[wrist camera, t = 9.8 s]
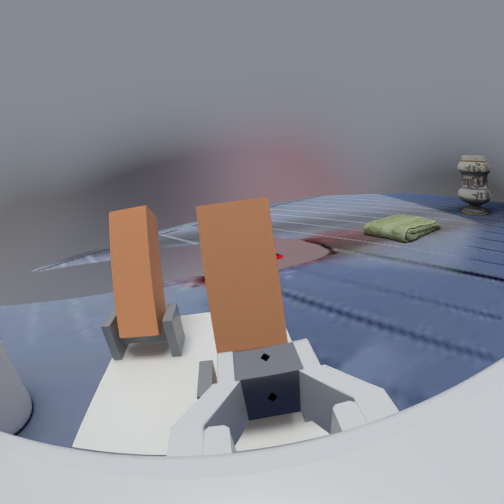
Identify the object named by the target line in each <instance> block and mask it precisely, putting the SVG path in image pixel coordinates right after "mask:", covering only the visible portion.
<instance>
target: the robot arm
mask: <svg viewBox="0 0 504 504" xmlns="http://www.w3.org/2000/svg"><path fill="white" fill-rule="evenodd" d="M300 411H301V413H302V414H303V415H305V416H306V417H307V418H309V419H310V420H311V421H313V422H314V423H316V424H317V425H318V426H320V427H321V428H322V429H324V430H325V431H327V432H328V433H329V434H330V435H326V436H322V437H318V438H314V439H310V440H306V441H301V442H297V443H292V444H287V445H282V446H276V447H270V448H264V449H258V450H251V451H243V452H237V451H236V448H235V445H236V444H237V442H238V440H239V439H240V437H241V435H242V433H243V432H244V430H245V428H246V427H247V425H248V423H249V421H250V420H256V419H261V418H267V417H272V416H278V415H284V414H289V413H295V412H300ZM0 504H504V357H503V358H502V359H500V360H499V361H497V362H495V363H494V364H492V365H491V366H489V367H487V368H486V369H484V370H483V371H481V372H479V373H477V374H476V375H474V376H472V377H470V378H469V379H467V380H465V381H463V382H461V383H460V384H458V385H456V386H454V387H452V388H450V389H448V390H446V391H444V392H442V393H440V394H438V395H436V396H434V397H432V398H430V399H428V400H425V401H423V402H421V403H419V404H416V405H414V406H412V407H409V408H407V409H405V410H402V411H400V412H399V411H398V409H397V408H396V406H395V405H394V403H393V402H392V401H391V399H390V398H389V396H388V395H387V393H386V392H385V390H384V389H382V388H380V387H377V386H375V385H372V384H370V383H367V382H365V381H362V380H360V379H358V378H355V377H353V376H351V375H348V374H346V373H343V372H341V371H339V370H337V369H334V368H332V367H330V366H327V365H321V364H320V362H319V360H318V358H317V356H316V355H315V353H314V351H313V349H312V347H311V345H310V343H309V341H308V339H306V338H305V339H301V340H297V341H292V342H289V343H284V344H279V345H273V346H268V347H260V348H253V349H245V350H238V351H233V352H232V351H229V352H222V353H218V354H217V384H212V385H211V386H210V387H209V389H208V390H207V391H206V392H205V393H204V394H203V395H202V396H201V397H200V398H199V399H198V400H197V401H196V402H195V403H194V404H193V405H192V406H191V407H190V408H189V409H188V410H187V411H186V412H185V414H184V415H183V416H182V417H181V418H180V419H179V420H178V421H177V422H176V423H175V424H174V425H173V426H172V427H171V428H170V434H169V441H168V449H167V456H136V455H120V454H109V453H100V452H92V451H84V450H78V449H72V448H66V447H61V446H56V445H51V444H46V443H42V442H38V441H33V440H30V439H26V438H22V437H18V436H15V435H12V434H8V433H5V432H2V431H0Z"/></svg>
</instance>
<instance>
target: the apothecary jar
mask: <svg viewBox="0 0 504 504" xmlns="http://www.w3.org/2000/svg"><path fill="white" fill-rule="evenodd" d="M458 170H459V171H460V172H461V178H462V185H461V186H462V187H461V188H460V190H459V191H458V195H459V197H460V198H461V199H462V200H463V201H465V202H467V203H469V206H467V207H465V208H463V209H462V210H461V211H462V212H464V213H468V214H475V215H485V214H488V212H487V211H486V210H485V209H483V208H481V207H480V206H481V204H484V203H486V202H488V201H489V200H490V199H491V193H490V191H489V190H488V185H487V174H488V173H489V172H490V167H489V165H488V164H487V163H486V161H485V157H484V156H476V155H462V157H461V162H460V163H459V164H458Z"/></svg>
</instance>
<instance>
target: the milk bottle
mask: <svg viewBox="0 0 504 504" xmlns="http://www.w3.org/2000/svg"><path fill="white" fill-rule="evenodd" d="M31 410H32V402H31V398H30V395H29V393H28V392H27V390H26V388H25V386H24V384H23V383H22V381H21V379H20V377H19V375H18V374H17V372H16V370H15V368H14V366H13V364H12V362H11V360H10V358H9V356H8V354H7V352H6V350H5V348H4V346H3V344H2V341H1V339H0V431H2V432H5V433H8V434H12V435H13V434H15V433H16V432H18V431H19V430H20V429H21V428H22V427H23V426H24V425H25V423H26V422H27V420H28V419H29V417H30V414H31Z"/></svg>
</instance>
